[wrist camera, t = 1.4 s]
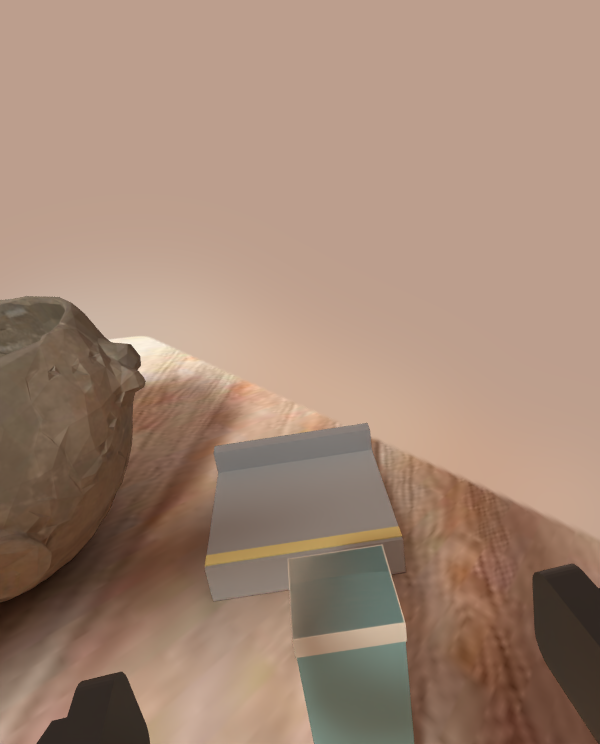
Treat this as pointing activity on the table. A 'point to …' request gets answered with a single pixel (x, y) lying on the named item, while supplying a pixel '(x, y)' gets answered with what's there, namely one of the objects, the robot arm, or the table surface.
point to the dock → (295, 508)
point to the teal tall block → (351, 647)
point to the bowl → (58, 434)
